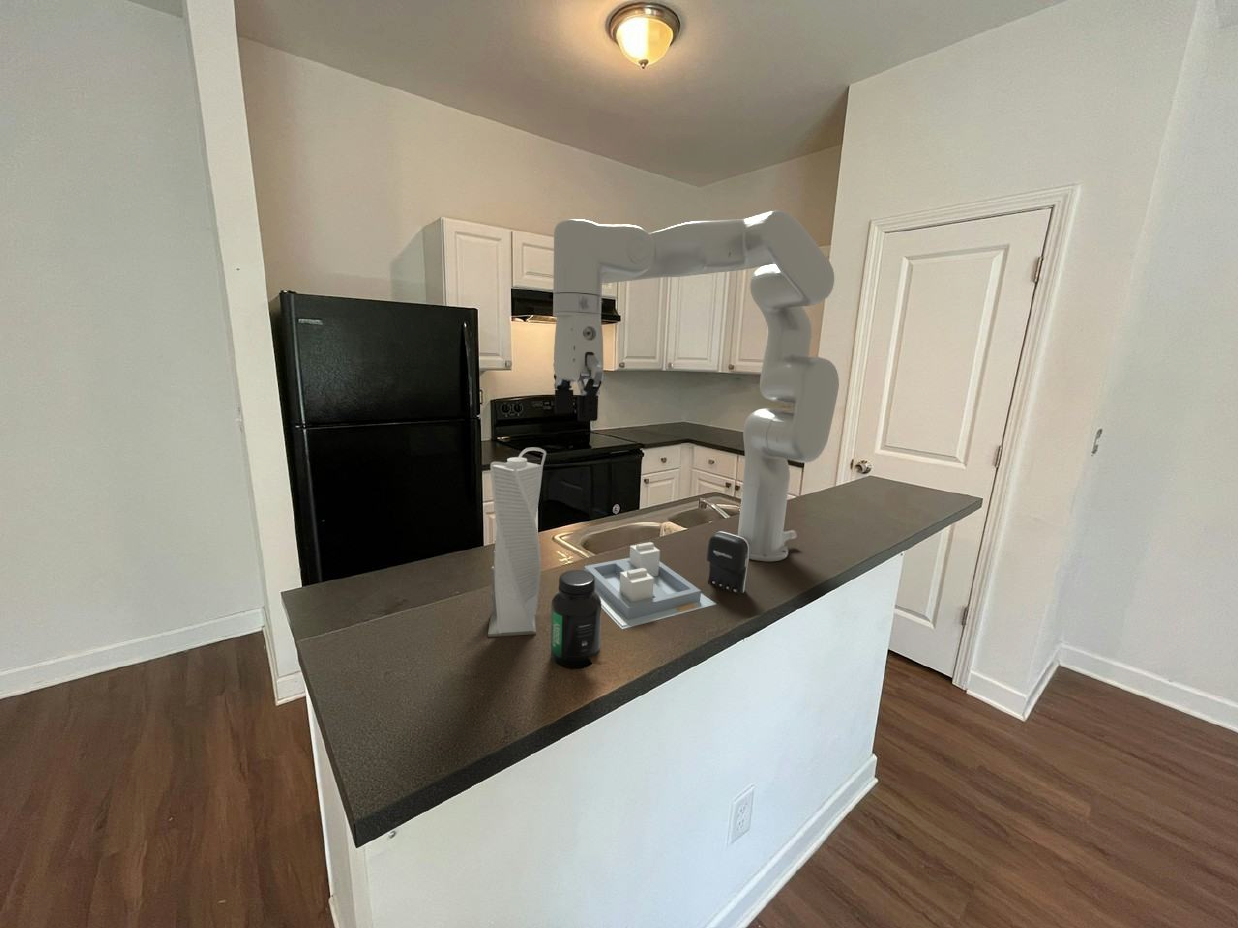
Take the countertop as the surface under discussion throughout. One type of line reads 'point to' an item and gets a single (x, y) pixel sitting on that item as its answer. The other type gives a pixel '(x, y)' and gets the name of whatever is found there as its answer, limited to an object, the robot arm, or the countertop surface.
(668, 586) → the switch bank
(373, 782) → the countertop surface
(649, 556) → the tab
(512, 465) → the skyscraper
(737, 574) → the battery charger
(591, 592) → the supplement bottle
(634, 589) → the tab
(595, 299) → the robot arm
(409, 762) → the countertop surface
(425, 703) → the countertop surface
